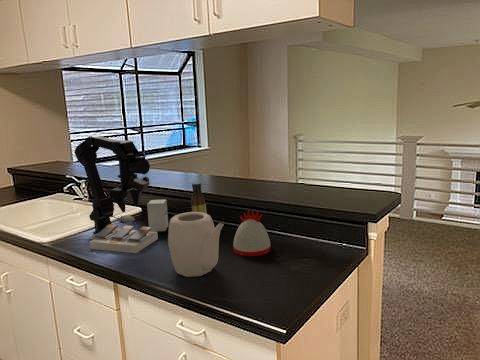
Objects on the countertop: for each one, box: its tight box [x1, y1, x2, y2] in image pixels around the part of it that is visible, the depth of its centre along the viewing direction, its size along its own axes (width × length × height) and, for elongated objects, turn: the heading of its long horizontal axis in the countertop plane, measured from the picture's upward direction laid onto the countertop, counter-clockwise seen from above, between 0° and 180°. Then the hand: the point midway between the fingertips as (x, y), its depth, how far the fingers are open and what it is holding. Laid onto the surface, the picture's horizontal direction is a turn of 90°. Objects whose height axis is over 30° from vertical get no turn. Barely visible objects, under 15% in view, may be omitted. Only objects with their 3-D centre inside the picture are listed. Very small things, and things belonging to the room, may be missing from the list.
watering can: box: [167, 211, 224, 278], centre depth 131 cm, size 16×27×19 cm, turn 47°
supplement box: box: [146, 199, 169, 232], centre depth 179 cm, size 7×7×13 cm
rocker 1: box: [94, 223, 119, 238], centre depth 165 cm, size 4×9×2 cm, turn 160°
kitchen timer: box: [232, 210, 272, 257], centre depth 150 cm, size 14×14×15 cm
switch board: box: [89, 228, 159, 254], centre depth 163 cm, size 23×16×4 cm
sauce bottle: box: [190, 181, 208, 214], centre depth 179 cm, size 6×6×20 cm
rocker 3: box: [129, 226, 151, 241], centre depth 159 cm, size 4×9×2 cm, turn 161°
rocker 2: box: [112, 224, 135, 239], centre depth 162 cm, size 4×9×2 cm, turn 160°
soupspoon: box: [119, 214, 136, 224], centre depth 200 cm, size 22×3×7 cm
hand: (130, 208), depth 167 cm, fingers open, 9 cm apart
